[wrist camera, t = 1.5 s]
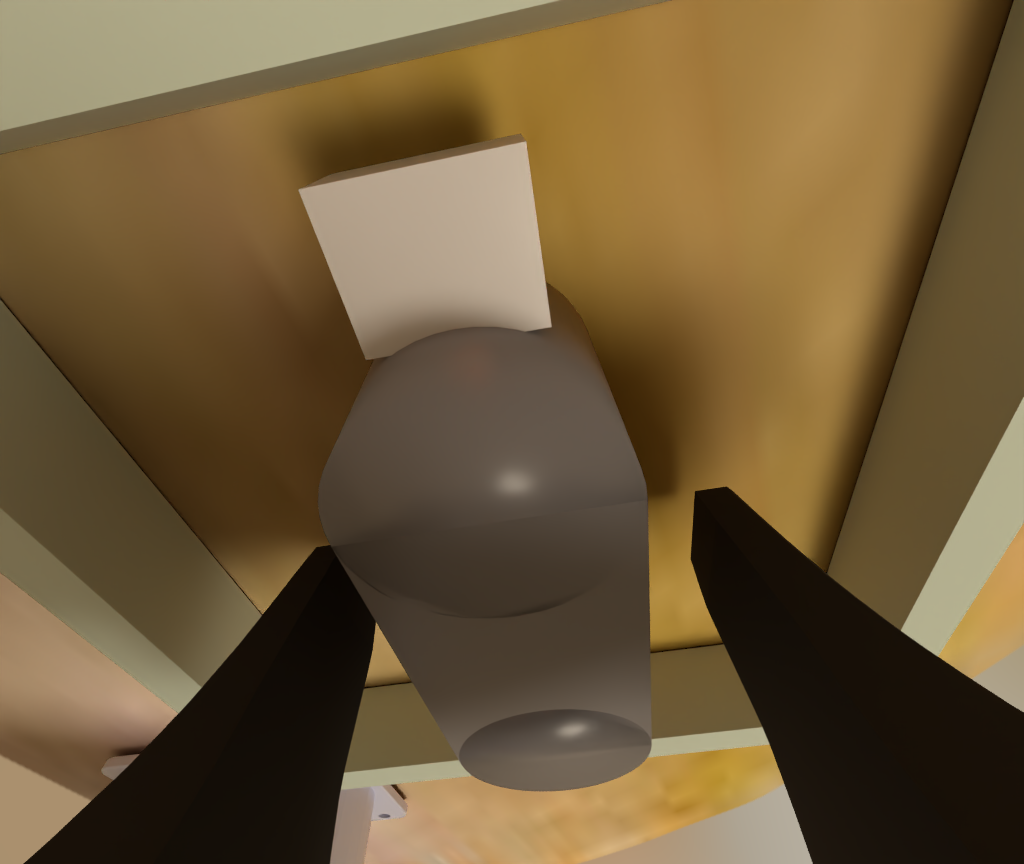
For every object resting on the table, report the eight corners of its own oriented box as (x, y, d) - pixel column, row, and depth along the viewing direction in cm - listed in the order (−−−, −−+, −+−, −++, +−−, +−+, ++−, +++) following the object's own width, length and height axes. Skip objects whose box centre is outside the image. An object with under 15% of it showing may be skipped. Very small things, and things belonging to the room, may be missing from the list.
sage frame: (307, 713, 17) (282, 796, 15) (-262, 95, 6) (-599, 96, 4) (838, 649, 15) (889, 731, 13) (1218, -278, 5) (1697, -524, 3)
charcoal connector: (484, 640, 14) (481, 799, 11) (306, 172, 7) (145, 237, 4) (615, 623, 14) (652, 780, 11) (571, 115, 7) (641, 134, 4)
